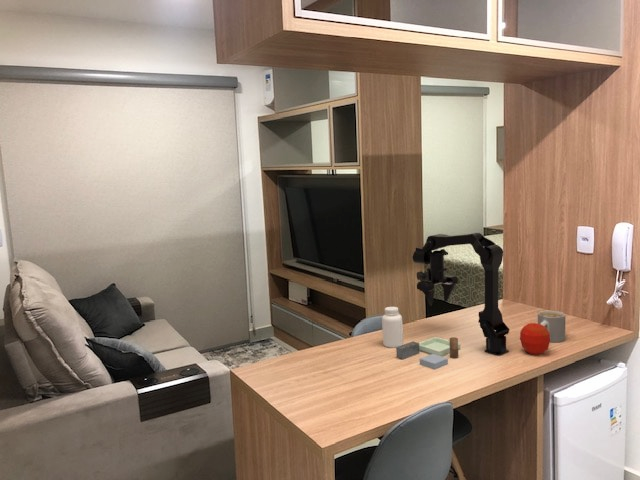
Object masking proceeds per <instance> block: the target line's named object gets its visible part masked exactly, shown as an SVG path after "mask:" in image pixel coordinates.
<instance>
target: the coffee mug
mask: <svg viewBox="0 0 640 480" xmlns="http://www.w3.org/2000/svg"><path fill="white" fill-rule="evenodd" d="M537 324H541V325H543V326H544V327H546V328H547V330H548V331H549V333H550V343H549V344H557V343H559V344H560V343H564V342H565V341H566V313H564V312H562V311H559V310H558V311H557V310H541V311H539V312H537Z"/></svg>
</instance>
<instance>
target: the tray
mask: <svg viewBox="0 0 640 480" xmlns="http://www.w3.org/2000/svg"><path fill="white" fill-rule="evenodd" d="M418 343H419V352H422V353H424V354H427V355H431V354H435V355H438V356H441V357H445V356H447V355H450V340H448V339H444V338H441V337H439V336H434V337H431V338H427V339H426V340H423V341H420V342H418ZM459 350H461V343H460V342H458V351H459Z"/></svg>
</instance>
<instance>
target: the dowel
mask: <svg viewBox="0 0 640 480" xmlns="http://www.w3.org/2000/svg"><path fill="white" fill-rule="evenodd" d="M449 341H450V354H449V359H455V360H456V359H458V358H459V350H458V343H459V338H458V337H449Z"/></svg>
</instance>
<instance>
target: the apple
mask: <svg viewBox="0 0 640 480" xmlns="http://www.w3.org/2000/svg"><path fill="white" fill-rule="evenodd" d="M519 333H520V334H519V340H520V345H521V348H522V349H524V350H525V351H526V352H527V353H528V354H530V355H536V356H537V355H541V354H543V353H544V352H546V351H547V350H548V349H549V346H550V344H551V343H550V333H549V331H548V330H547V328H546V327H544V326H543V325H541V324H538V322H537V323H536V322H530V323H526V325H525V324H524V326H523V327H522V328H521V330H520V331H519Z"/></svg>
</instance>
